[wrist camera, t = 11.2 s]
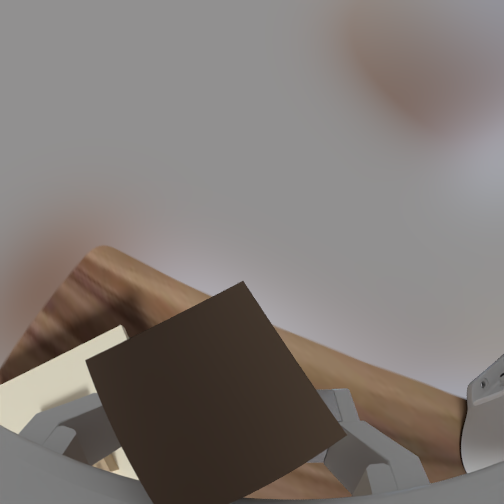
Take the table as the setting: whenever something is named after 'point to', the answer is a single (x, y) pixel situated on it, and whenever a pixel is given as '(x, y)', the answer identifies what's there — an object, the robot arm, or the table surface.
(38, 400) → the cream and teal block
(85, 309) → the table surface
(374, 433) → the robot arm
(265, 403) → the walnut key
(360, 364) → the table surface
